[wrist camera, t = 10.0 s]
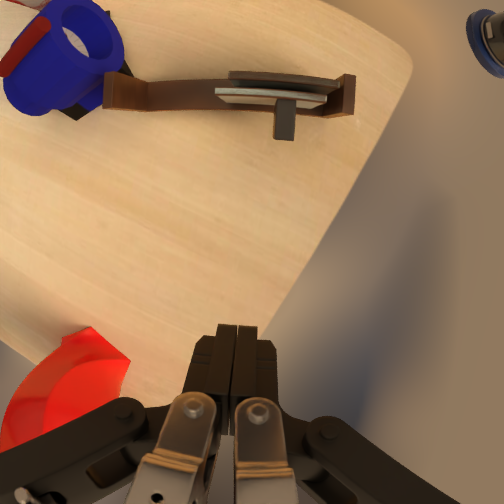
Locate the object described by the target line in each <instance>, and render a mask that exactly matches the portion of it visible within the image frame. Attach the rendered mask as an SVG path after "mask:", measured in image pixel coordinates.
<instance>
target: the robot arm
mask: <svg viewBox="0 0 504 504" xmlns="http://www.w3.org/2000/svg"><path fill="white" fill-rule="evenodd" d="M479 32H480V37H481V40H482V43H483V45H484V47H485V49H486V51H487V53H488V54H489V56H490V57H491V59H492V60H493V61H494V62H495V63H496V64H497V65H498V66H500V67H501V68H503V69H504V11H503V12H499V13H496V14H493V15H488V16H485V17H483V18H482V19H481V21H480V25H479ZM257 328H258V327H256V326H242V325H239V327H238V335H237V325H228V324H218V327H217V332H216V336H206V335H204V336H203V337H202V338H201V339H200V340H199V341H198V342H197V343H196V345H195V348H194V352H193V355H192V359H191V363H190V366H189V369H188V373H187V376H186V380H185V383H184V387H183V390H182V393H181V394H180V395H179V396H177V397H176V398H175V399H174V400H173V402H172V403H171V404H169V405H166V406H161V407H150V408H144V406H143V405H142V404H141V403H140V402H139V401H137V400H136V399H133V398H129V397H120V398H116V399H114V400H111V401H110V402H108V403H106V404H104V405H102V406H100V407H98V408H96V409H94V410H92V411H90V412H88V413H86V414H84V415H82V416H80V417H78V418H76V419H74V420H72V421H70V422H68V423H66V424H64V425H62V426H60V427H57V428H55V429H53V430H51V431H49V432H47V433H45V434H42V435H40V436H38V437H36V438H34V439H31V440H29V441H27V442H25V443H22V444H20V445H18V446H16V447H13V448H11V449H9V450H6V451H4V452H1V453H0V504H92V503H94V502H96V501H98V500H100V499H102V498H104V497H105V496H107V495H109V494H111V493H113V492H115V491H116V490H118V489H120V488H122V487H123V486H125V485H127V484H128V483H130V482H132V483H131V486H130V488H129V491H128V493H127V496H126V498H125V501H124V503H123V504H207V503H208V494H209V489H210V486H211V481H212V477H213V473H214V469H215V464H216V460H217V456H218V450H219V446H220V440H221V435H228V427H229V419H230V435H232V436H234V453H233V454H234V455H233V457H234V458H233V466H234V467H233V468H234V469H233V470H234V504H299V502H298V495H297V488H296V483H297V484H298V485H299V486H300V487H301V488H302V489H303V490H304V491H305V492H306V493H308V495H310V496H311V497H312V498H313V499H314V500H315V501H316V502H317V503H318V504H460V503H459V502H457V501H456V500H454V499H452V498H451V497H449V496H448V495H446V494H444V493H443V492H441V491H440V490H438V489H437V488H435V487H433V486H432V485H431V484H429V483H427V482H426V481H425V480H423V479H422V478H420V477H419V476H417V475H416V474H414V473H413V472H411V471H410V470H409V469H407V468H406V467H404V466H403V465H401V464H400V463H399V462H397V461H396V460H394V459H393V458H391V457H390V456H389V455H387V454H386V453H385V452H383V451H382V450H381V449H379V448H378V447H377V446H375V445H374V444H373V443H371V442H370V441H368V440H367V439H366V438H365V437H363V436H362V435H361V434H359V433H358V432H357V431H355V430H354V429H353V428H351V427H350V426H349V425H348V424H346V423H345V422H344V421H342V420H341V419H339V418H336V417H332V416H322V417H318V418H316V419H314V420H312V421H311V422H307V421H303V420H300V419H296V418H293V417H291V416H289V415H288V414H287V413H285V412H284V411H283V410H282V408H281V407H280V405H279V402H278V382H277V381H278V379H277V355H276V348H275V347H274V345H273V344H272V342H271V341H270V340H257Z"/></svg>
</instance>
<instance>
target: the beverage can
mask: <svg viewBox="0 0 504 504" xmlns="http://www.w3.org/2000/svg"><path fill="white" fill-rule="evenodd" d="M6 1H10V2H13V3H17V4H20V5H23V6H26V7H30V8H33V9H36V10H39V11H41V10H42V9H43V8H44V7H45V6H46V5H47V4H48V3H49V2H50V1H51V0H6Z"/></svg>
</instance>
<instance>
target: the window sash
mask: <svg viewBox="0 0 504 504" xmlns="http://www.w3.org/2000/svg"><path fill="white" fill-rule="evenodd" d="M215 95H216V96H218V97H219V98H221V99H222V100H224V101H225V102H226V103H244V104H263V105H275V108H274V124H273V138H274V139H275V140H287V141H294V131H295V117H296V107H299V108H308V109H312V108H314V107H316V106H319V105H321V104H325V103H326V101H327V95H324V94H317V93H308V92H299V91H289V90H278V89H264V88H244V87H215Z"/></svg>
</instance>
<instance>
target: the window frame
mask: <svg viewBox="0 0 504 504" xmlns="http://www.w3.org/2000/svg"><path fill="white" fill-rule="evenodd" d="M215 87H244V88H264V89H278V90H289V91H299V92H308V93H317V94H324V95H327V101H326V103H325V104H321V105H319V106H316V107H314V108H312V109H308V108H299V107H296V115H304V116H313V117H321V118H334V117H340V116H347V115H354V104H355V87H356V76H355V75H350V74H343V75H342V76H340V77H339V78H337V79H336V80H333V79H326V78H319V77H311V76H303V75H293V74H283V73H270V72H252V71H229V73H228V79H199V80H173V81H158V82H146V81H143V80H140V79H137V78H134V77H131V76H128V75H125V74H122V73H118V72H115V71H111V72H105V73H104V87H103V106H102V109H111V110H126V111H138V112H153V111H176V110H231V111H255V112H271V113H274V108H275V105H263V104H244V103H226V102H225V101H224V100H222V99H221V98H219V97H218V96H216V95H215Z"/></svg>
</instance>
